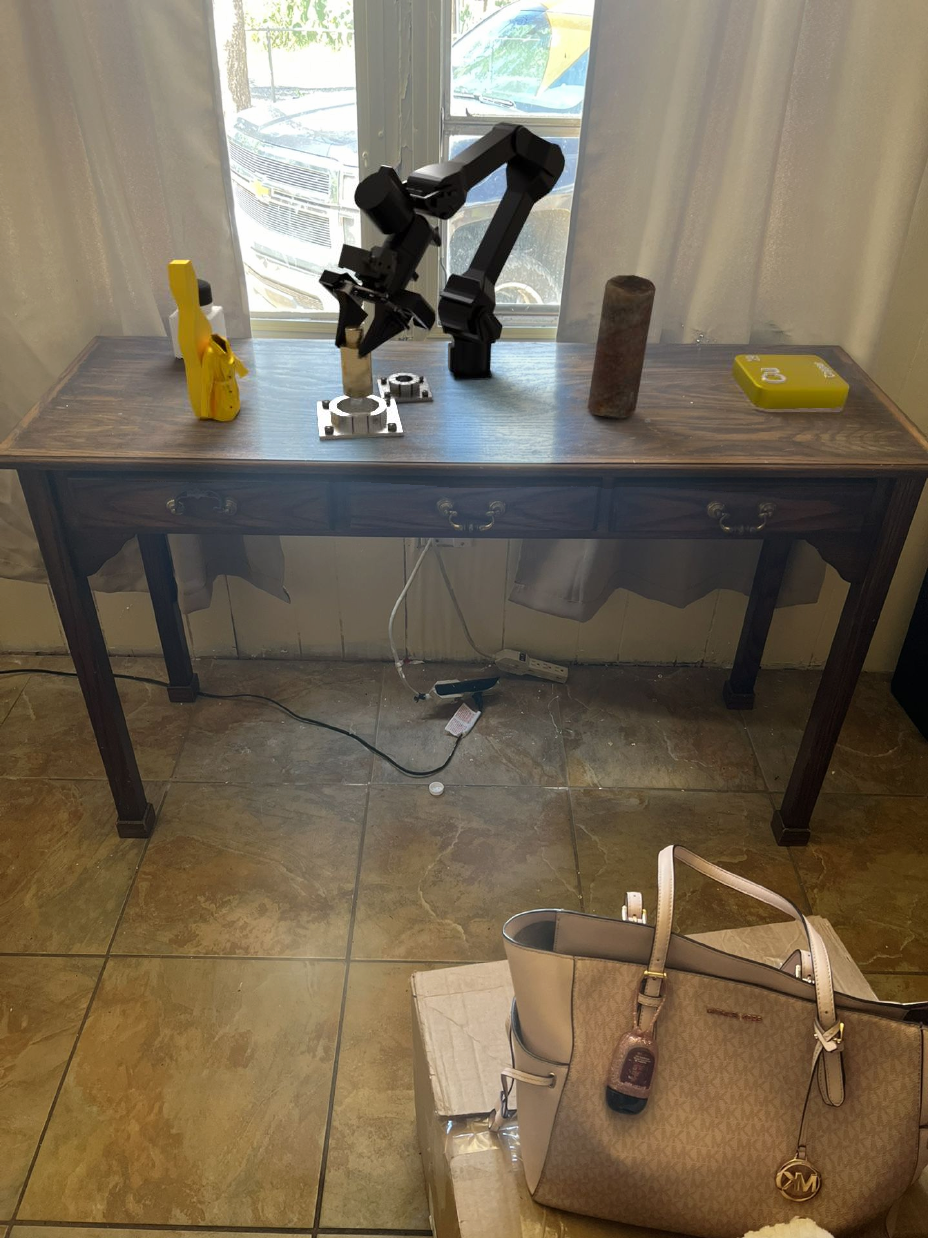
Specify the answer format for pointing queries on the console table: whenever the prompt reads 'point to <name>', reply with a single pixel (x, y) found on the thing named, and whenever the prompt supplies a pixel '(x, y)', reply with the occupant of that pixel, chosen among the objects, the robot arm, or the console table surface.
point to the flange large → (358, 418)
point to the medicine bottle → (210, 312)
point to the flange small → (404, 388)
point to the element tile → (789, 381)
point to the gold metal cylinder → (355, 365)
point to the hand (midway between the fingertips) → (348, 351)
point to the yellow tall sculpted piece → (204, 351)
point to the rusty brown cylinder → (621, 346)
